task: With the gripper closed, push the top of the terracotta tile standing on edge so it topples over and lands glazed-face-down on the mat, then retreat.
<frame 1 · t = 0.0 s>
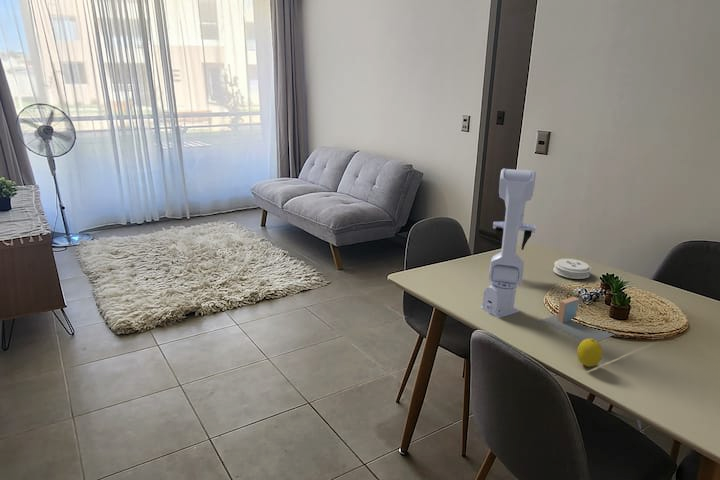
hand: (511, 247, 170), 11 cm above the table, tool pointing down, fingers open, 7 cm apart
tile: (566, 319, 139), resting on mat
mat: (577, 328, 135), on the table
lid: (570, 274, 174), on the table
lemon: (586, 367, 117), on the table
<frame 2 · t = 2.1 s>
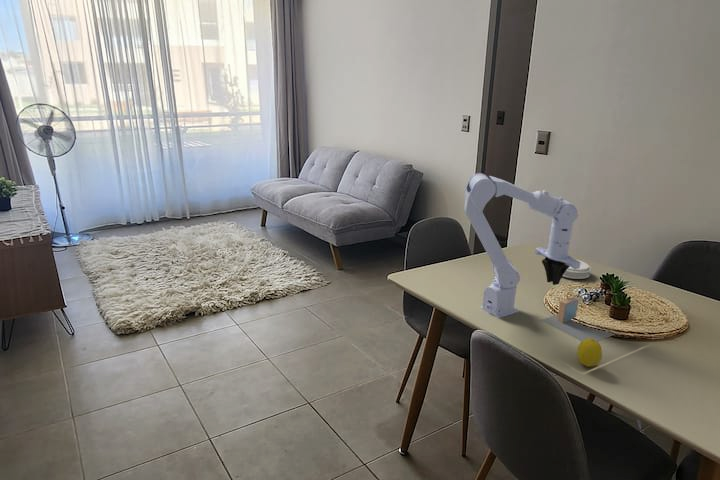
hand: (552, 282, 141), 10 cm above the table, tool pointing down, fingers closed
nothing on the table moved.
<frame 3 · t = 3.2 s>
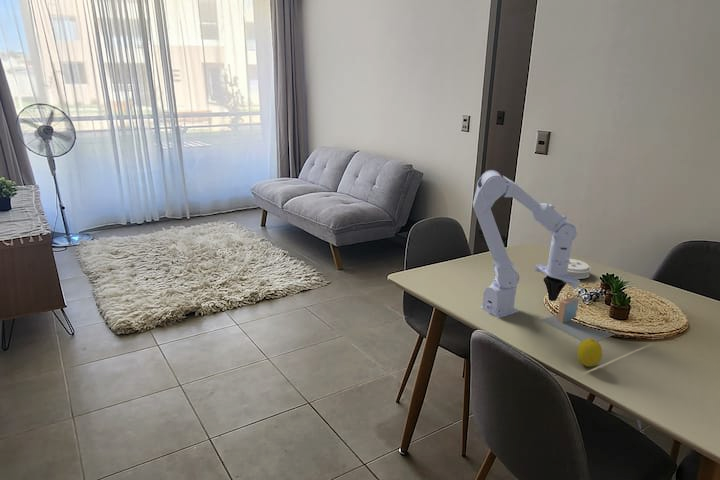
hand: (552, 299, 143), 4 cm above the table, tool pointing down, fingers closed
nothing on the table moved.
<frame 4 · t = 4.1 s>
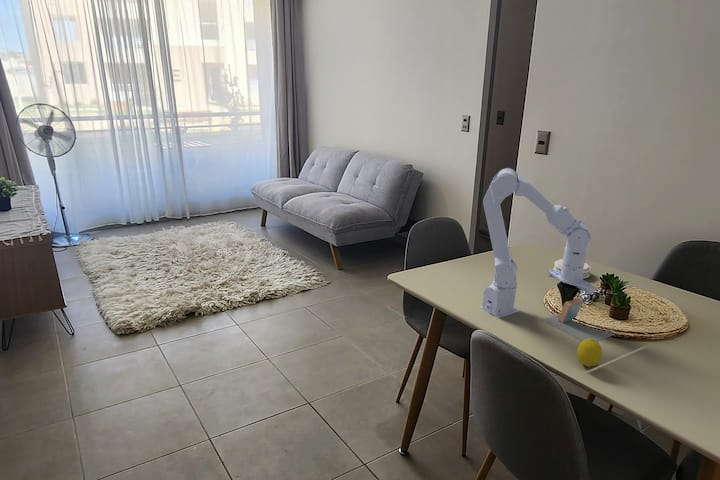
hand: (566, 306, 139), 4 cm above the table, tool pointing down, fingers closed
tile: (566, 318, 139), point 1 cm above the table, tilted 13°, touching gripper, mat
everything else where it was.
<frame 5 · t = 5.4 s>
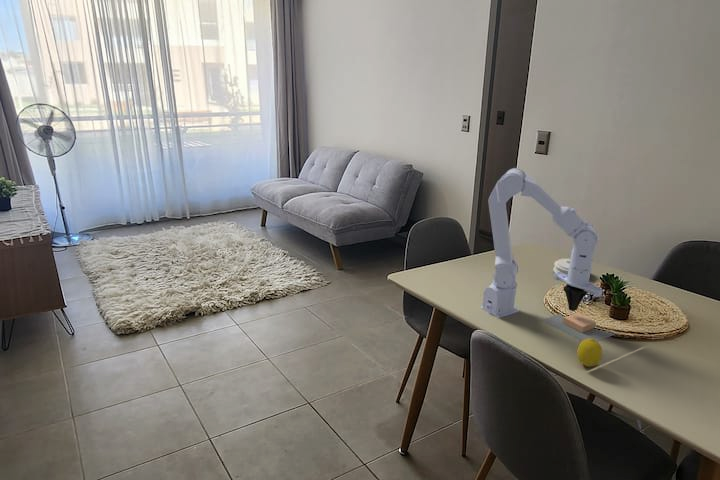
hand: (572, 309, 137), 4 cm above the table, tool pointing down, fingers closed
tile: (569, 317, 138), point 1 cm above the table, tilted 90°, touching mat
everything else where it was.
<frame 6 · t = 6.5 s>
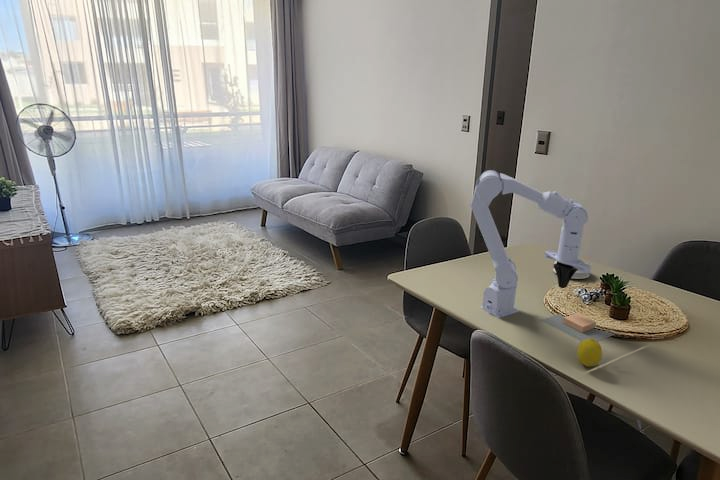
hand: (562, 286, 139), 10 cm above the table, tool pointing down, fingers closed
nothing on the table moved.
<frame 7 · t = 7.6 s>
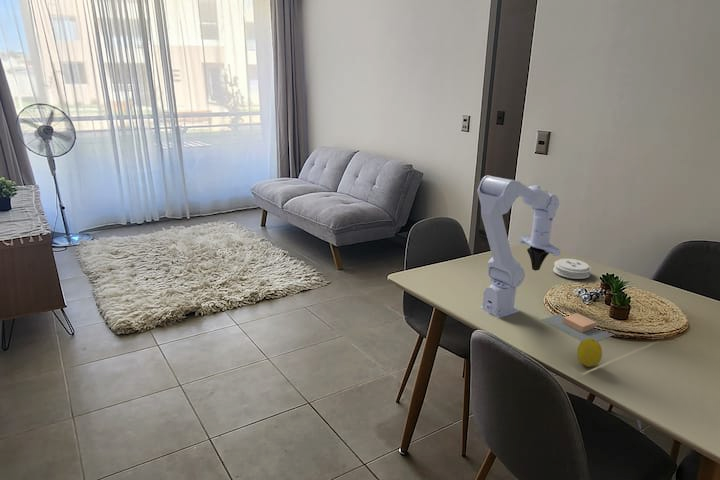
hand: (535, 269, 152), 10 cm above the table, tool pointing down, fingers closed
nothing on the table moved.
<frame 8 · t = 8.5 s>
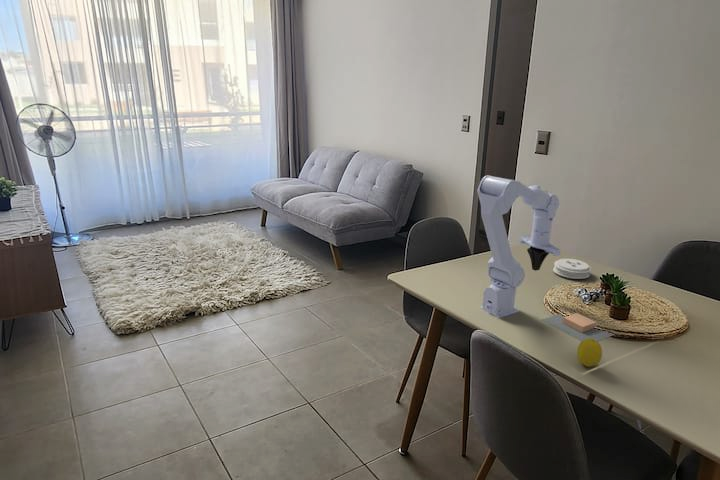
hand: (535, 269, 152), 10 cm above the table, tool pointing down, fingers closed
nothing on the table moved.
at the end: tile tilted 90°; tile inside the target area on the mat (3.6 cm from its centre), point 1.4 cm above the mat's base; tile point 1.4 cm above the table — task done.
